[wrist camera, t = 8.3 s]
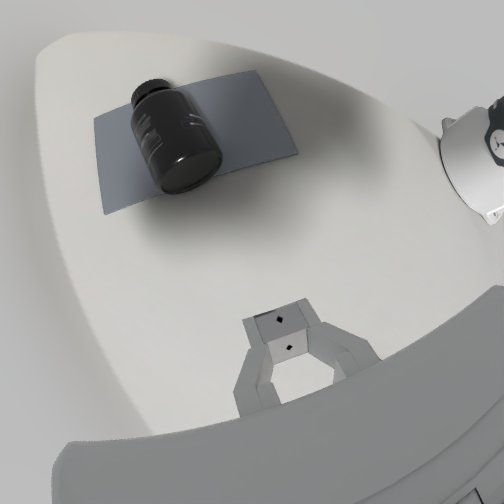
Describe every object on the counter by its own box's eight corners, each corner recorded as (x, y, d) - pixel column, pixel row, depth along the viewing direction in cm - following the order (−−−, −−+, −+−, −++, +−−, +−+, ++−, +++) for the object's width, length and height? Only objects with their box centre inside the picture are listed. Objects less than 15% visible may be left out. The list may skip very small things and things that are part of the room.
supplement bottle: (230, 141, 22) (178, 62, 23) (153, 172, 20) (116, 84, 21) (222, 178, 28) (178, 103, 29) (161, 205, 26) (126, 123, 27)
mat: (255, 72, 31) (255, 70, 31) (297, 154, 29) (298, 152, 29) (94, 120, 28) (93, 118, 28) (105, 215, 26) (104, 214, 26)
